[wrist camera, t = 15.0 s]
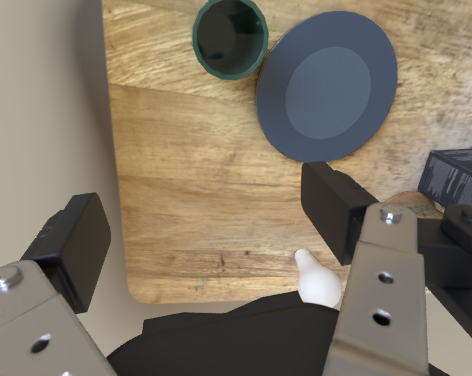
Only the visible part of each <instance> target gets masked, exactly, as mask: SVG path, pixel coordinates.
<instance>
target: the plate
mask: <svg viewBox="0 0 472 376" xmlns="http://www.w3.org/2000/svg"><path fill="white" fill-rule="evenodd" d="M396 84H397V63H396V57H395V53H394V50H393V48H392V45H391V43H390V41H389V39H388V38H387V36H386V34H385V33H384V32H383V31H382V29H381V28H380V27H379V26H378V25H376V24H375V23H374V22H373V21H372V20H370V19H368V18H366V17H365V16H362V15H359V14H357V13H353V12H348V11H331V12H324V13H320V14H317V15H314V16H311V17H309V18H307V19H304V20H302V21H301V22H299V23H298V24H296V25H295V26H293V27H292V28H291V29H289V30H288V31H287V32H286V33H285V34H284V35H283V36H282V37H281V38H280V39H279V40H278V41H277V42H276V44H275V45H274V46H273V48H272V49H271V50H270V52H269V54H268V55H267V57H266V59H265V61H264V63H263V66H262V68H261V70H260V73H259V77H258V81H257V86H256V94H255V105H256V113H257V117H258V121H259V124H260V127H261V129H262V131H263V133H264V135H265V136H266V138H267V139H268V140H269V142H270V143H271V144H272V145H273V146H274V147H275V148H276V149H277V150H278V151H279V152H281V153H282V154H283V155H285V156H287V157H289V158H291V159H293V160H296V161H300V162H305V163H308V162H315V161H324V162H330V161H333V160H336V159H339V158H342V157H344V156H346V155H348V154H350V153H352V152H353V151H355V150H356V149H358V148H359V147H360V146H362V145H363V144H364V143H365V142H366V141H367V140H369V139H370V137H371V136H372V135H373V134H374V133H375V132H376V131H377V129H378V128H379V127H380V125H381V124H382V122H383V121H384V119H385V117H386V115H387V113H388V111H389V109H390V107H391V104H392V102H393V99H394V95H395V91H396Z"/></svg>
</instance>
